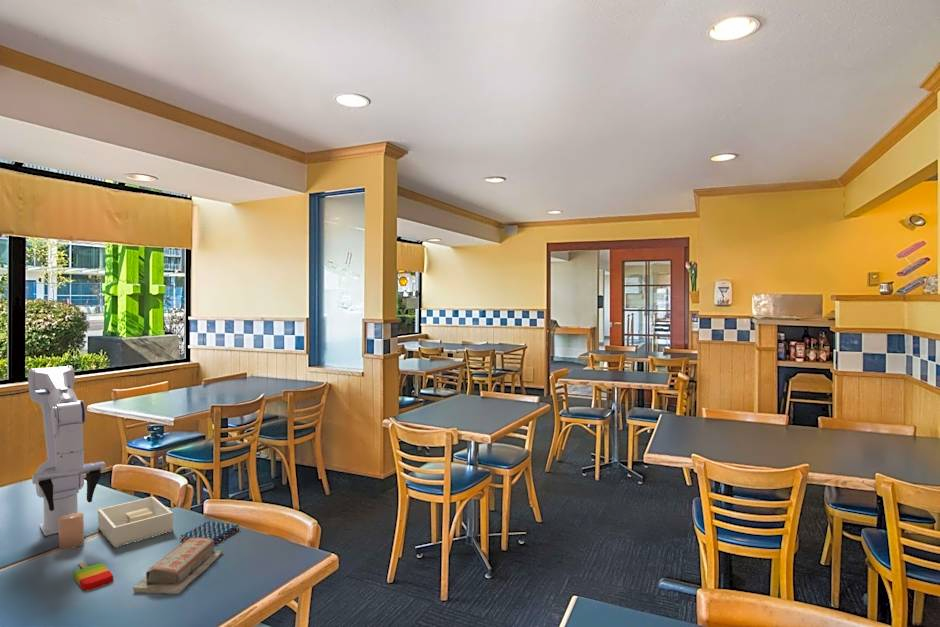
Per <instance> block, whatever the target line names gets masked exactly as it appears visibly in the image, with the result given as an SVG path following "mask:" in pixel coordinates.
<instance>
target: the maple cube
mask: <svg viewBox="0 0 940 627" xmlns="http://www.w3.org/2000/svg"><path fill="white" fill-rule="evenodd" d="M125 517H126V524H127V523H131V522H135V521H139V520H143V519H147V518H151V517H153V512H151V511H150V510H149V509H148V508H144V509H140V510H136V511H132V512H128V513H125Z"/></svg>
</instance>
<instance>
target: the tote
mask: <svg viewBox="0 0 940 627" xmlns="http://www.w3.org/2000/svg"><path fill="white" fill-rule="evenodd" d="M144 508H148V509H149V510H150V511H151V512H153V517H151V518H147V519H143V520H139V521H135V522H131V523H127V524H126V517H125V513H128V512H132V511H136V510H140V509H144ZM97 521H98V522H97V526H98V527H97V528H98V529H99V531H100V532H101V533H102V534H103V536H104V535H105V536H106V537H107V538H108V539H109V541H110V542H111V543H110V542H109V541H108V542H109V543H110V545H111V544H112V545H113V546H114V547H116V548H118V547H117V546H120V545H123V544H126V543H130V542H134V541H138V540H141V539H145V538H148V537H152V536H156V535H159V534H162V533H165V532H170V531H173V532H174V513H173V511H172V510H170V509H169V508H168V507H166V505H164V504H163V503H162V502H161V501H159V500H158V499H157V498H156V497H154V496H149V497H145V498H141V499H136V500H132V501H128V502H123V503H120V504H119V503H118V504H114V505H111V506H107V507H103V508H102V507H101V508H97ZM170 533H171V532H170ZM105 536H104V537H105ZM159 536H160V535H159ZM106 537H105V538H106ZM156 537H157V536H156ZM107 538H106V539H107ZM152 538H153V537H152ZM148 539H149V538H148ZM145 540H146V539H145ZM141 541H142V540H141ZM138 542H139V541H138ZM134 543H135V542H134ZM112 545H111V546H112ZM113 546H112V547H113ZM114 547H113V548H114ZM120 547H121V546H120Z"/></svg>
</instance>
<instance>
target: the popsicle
mask: <svg viewBox="0 0 940 627" xmlns="http://www.w3.org/2000/svg"><path fill="white" fill-rule="evenodd" d="M78 565H79V566H80V567H81V569H78V570H74V571H73V572H72V578H73V577H74V578H73V579H74V581H76V582H77V584H78V585H79V587H80V588H81V589H82V590H83V591H86V592H87V591H91V590H94V588H95V589H97V587H98V588H100V586H101V587H102V586H103V585H104V586H105V584H106V585H109V584H111V583H113V582H114V575H113V573H112V572H111V571H110V570H109V569H108V568H107V567H106V566H105V564H104V563H102V562H100V563H97V564H93V565H90V566H88V565H87V563H86V562H85V561H80V562H78ZM112 581H113V582H112ZM110 582H111V583H110ZM108 583H109V584H108Z"/></svg>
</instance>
